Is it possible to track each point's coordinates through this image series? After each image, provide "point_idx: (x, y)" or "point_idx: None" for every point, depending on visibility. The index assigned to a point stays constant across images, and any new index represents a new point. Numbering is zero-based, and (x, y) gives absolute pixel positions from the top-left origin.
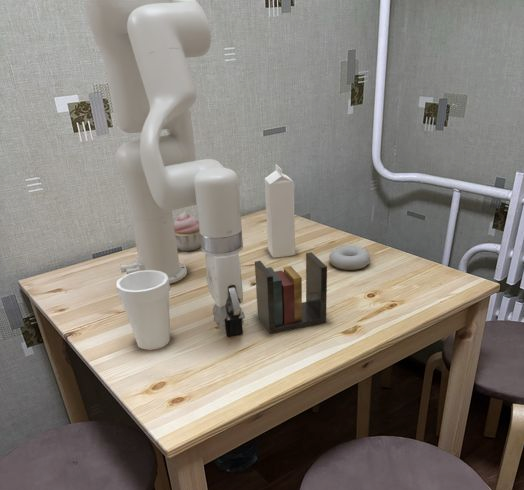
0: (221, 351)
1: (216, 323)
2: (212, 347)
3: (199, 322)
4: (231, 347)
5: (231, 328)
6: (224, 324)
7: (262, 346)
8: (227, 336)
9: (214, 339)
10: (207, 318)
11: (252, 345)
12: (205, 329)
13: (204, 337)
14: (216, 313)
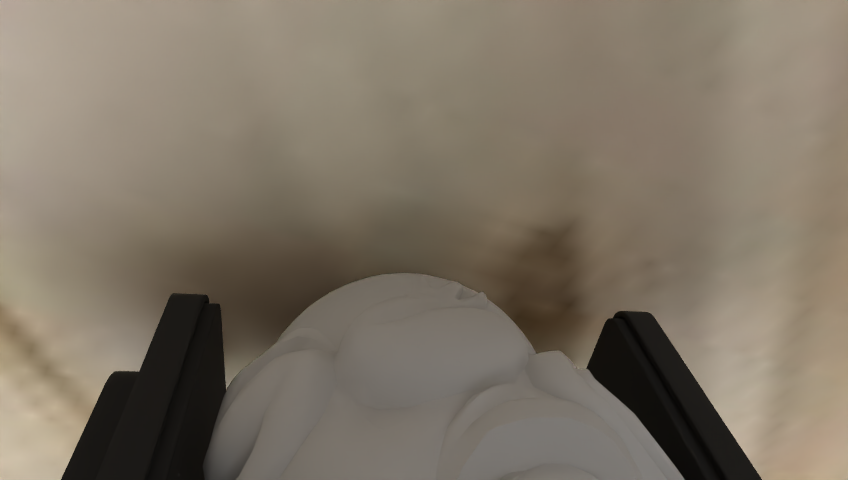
0: (11, 136)
1: (374, 310)
2: (143, 67)
3: (788, 113)
4: (84, 252)
5: (79, 440)
6: (239, 396)
7: (38, 456)
8: (171, 302)
9: (329, 148)
10: (788, 212)
11: (76, 405)
12: (601, 125)
13: (433, 55)
14: (434, 443)
